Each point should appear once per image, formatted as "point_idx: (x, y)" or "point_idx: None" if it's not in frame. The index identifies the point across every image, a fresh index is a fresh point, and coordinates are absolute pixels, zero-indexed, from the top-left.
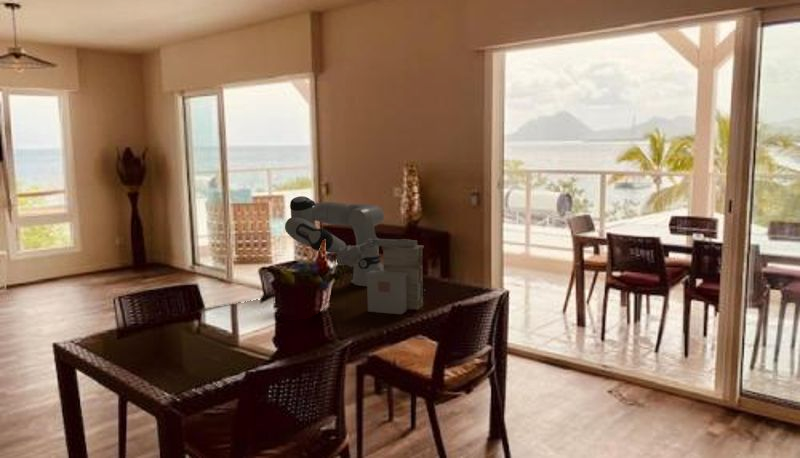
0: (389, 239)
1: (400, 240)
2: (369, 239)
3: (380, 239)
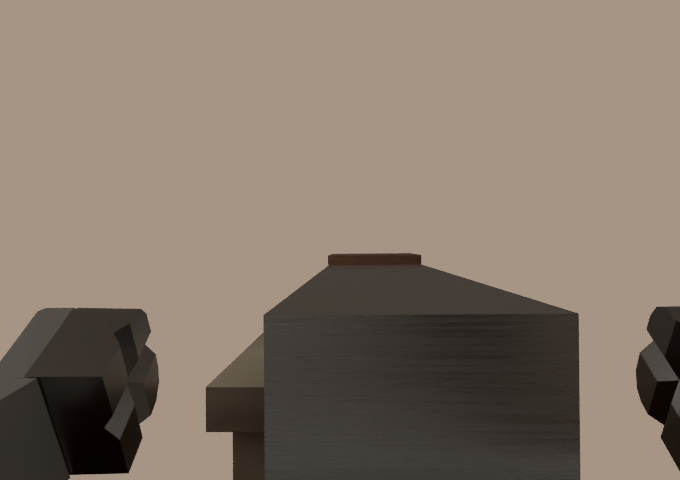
0: (342, 271)
1: (419, 258)
2: (508, 301)
3: (388, 279)
